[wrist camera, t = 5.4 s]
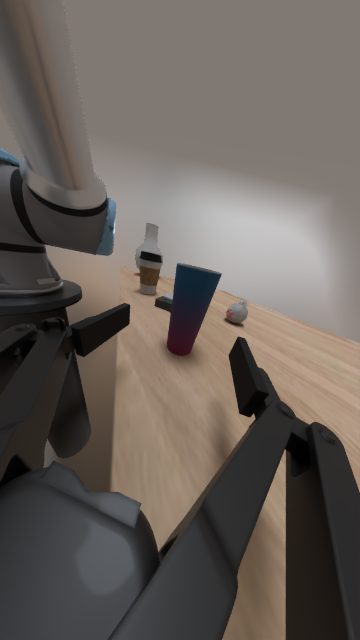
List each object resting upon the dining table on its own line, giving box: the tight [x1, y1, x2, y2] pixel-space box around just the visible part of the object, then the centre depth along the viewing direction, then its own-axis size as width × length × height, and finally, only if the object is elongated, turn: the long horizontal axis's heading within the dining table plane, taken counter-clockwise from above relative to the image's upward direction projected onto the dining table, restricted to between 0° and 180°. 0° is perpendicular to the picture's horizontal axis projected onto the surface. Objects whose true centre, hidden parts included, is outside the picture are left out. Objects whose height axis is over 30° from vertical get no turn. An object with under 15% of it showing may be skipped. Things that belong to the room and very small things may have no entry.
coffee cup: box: [139, 251, 162, 295], centre depth 50 cm, size 8×8×15 cm
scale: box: [155, 292, 173, 312], centre depth 45 cm, size 14×14×3 cm
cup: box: [167, 263, 221, 355], centre depth 22 cm, size 7×7×15 cm
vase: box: [135, 223, 163, 270], centre depth 77 cm, size 17×16×28 cm
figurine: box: [226, 300, 248, 323], centre depth 42 cm, size 6×7×8 cm
